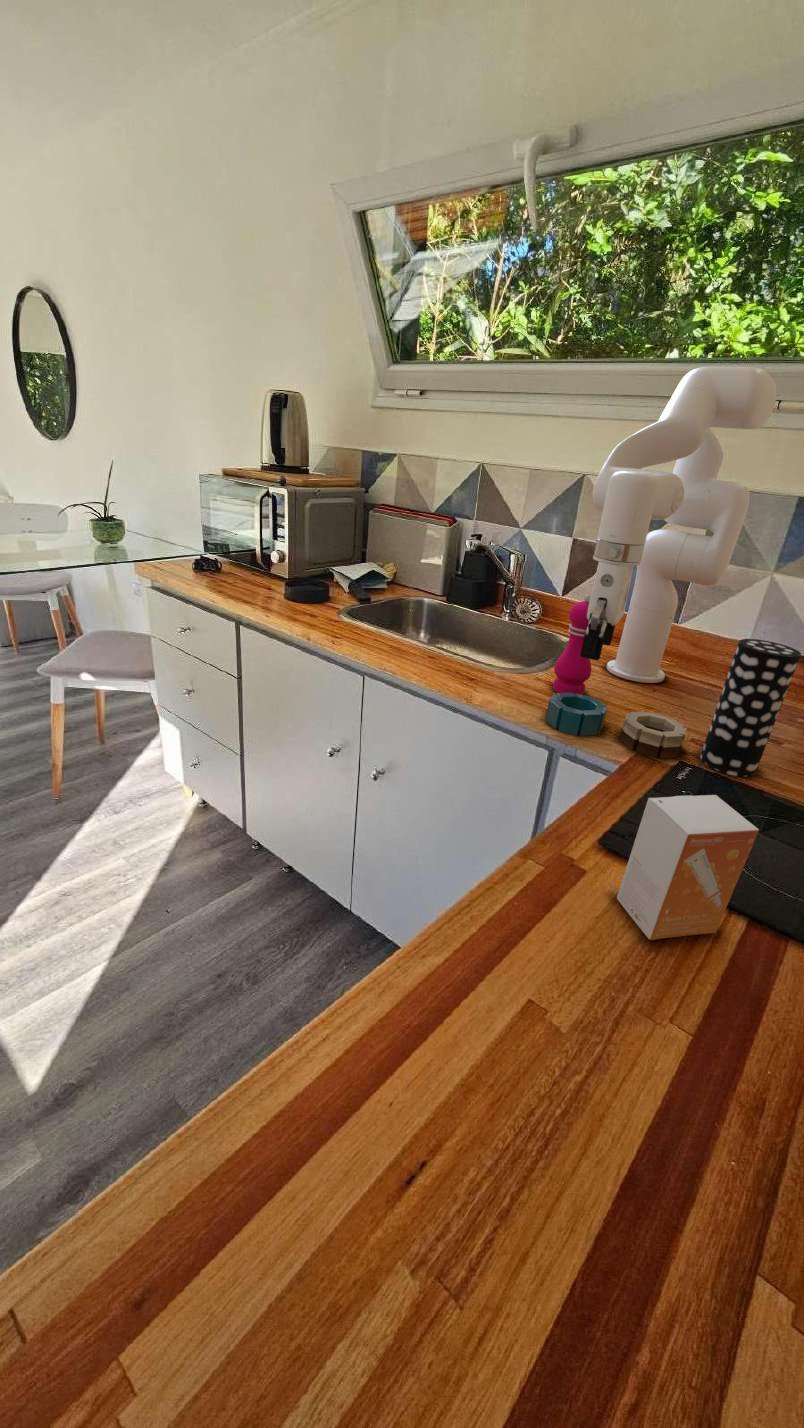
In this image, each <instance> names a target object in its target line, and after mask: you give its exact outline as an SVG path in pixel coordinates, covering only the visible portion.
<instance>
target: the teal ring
mask: <svg viewBox="0 0 804 1428" xmlns="http://www.w3.org/2000/svg"><path fill="white" fill-rule="evenodd" d="M607 713H608V707H607V705H606V704H605V703H603V702H602V701H601V700H599V699H597V698H594V697H593V696H589V695H585V694H583V695H581V694H577V693H575V695H574V694H573V693H558V692H556V693H554V694H552V696H551V697H550V698H549V701H548V704H547V709H546V715H545V721H546V722H547V723H548V724H549V725H550V726H551V727H552V728H554V729H556V730H557V729H558V731H559V732H563V733H567V734H570V735H574V736H578V735H579V737H586V736H597V735H599V734H600V733H601V732H602V730H603V728H604V724H605V720H606V717H607Z"/></svg>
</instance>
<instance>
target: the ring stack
mask: <svg viewBox="0 0 804 1428" xmlns="http://www.w3.org/2000/svg"><path fill="white" fill-rule="evenodd" d="M687 730H688V728H687V727H686V725H684V724H682V723H681V722H679V721H678V720H676V719H674V718H670V717H669V716H667V715H663V714H659V713H655V712H653V711H649V712H647V711H645V710H643V711H630V712H627V713H626V716H625V718H624V721H623V724H622V727H621V732H620V736H619V741H620V743H622V744H623V745H624V746H625V747H627V748H628V749H629V750H631V751H635V753H638V754H641V755H645V756H647V757H652V758H654V759H655V758H657V757H658V758H659V759H672V758H673V759H675V758H677V757H679V756H680V753H681V750H682V747H683V744H684V741H685V737H686V735H687V732H688V731H687Z"/></svg>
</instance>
